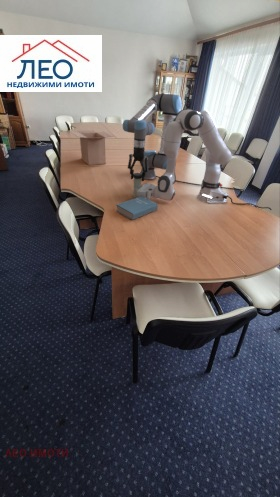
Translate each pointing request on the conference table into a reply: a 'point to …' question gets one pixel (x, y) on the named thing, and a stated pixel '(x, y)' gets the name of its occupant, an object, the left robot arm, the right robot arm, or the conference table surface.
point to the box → (92, 146)
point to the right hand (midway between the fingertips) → (135, 187)
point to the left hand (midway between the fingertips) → (137, 179)
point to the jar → (136, 186)
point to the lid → (137, 175)
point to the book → (136, 207)
